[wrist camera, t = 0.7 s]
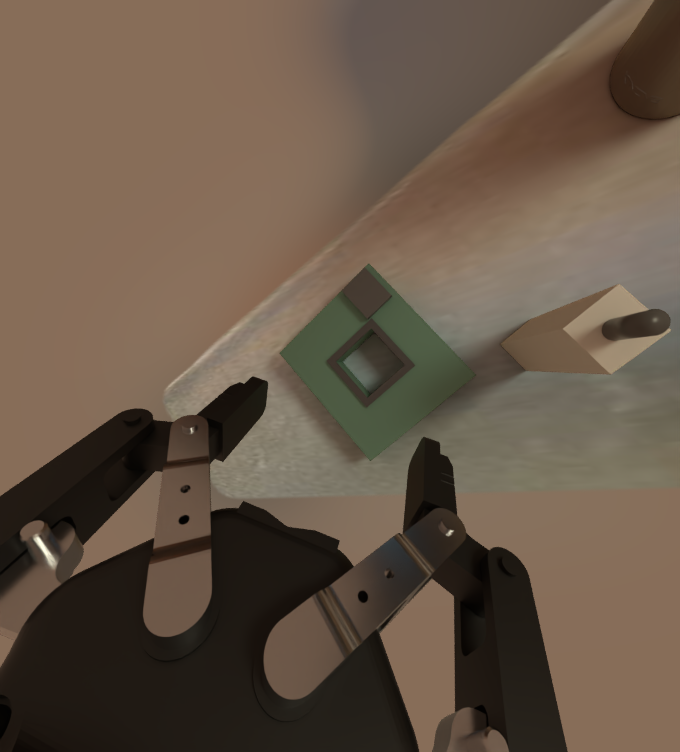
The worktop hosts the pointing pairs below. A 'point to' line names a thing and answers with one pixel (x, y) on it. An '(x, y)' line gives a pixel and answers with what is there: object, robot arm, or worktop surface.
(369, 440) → the green square socket base
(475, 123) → the worktop surface
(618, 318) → the plug
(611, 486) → the worktop surface
